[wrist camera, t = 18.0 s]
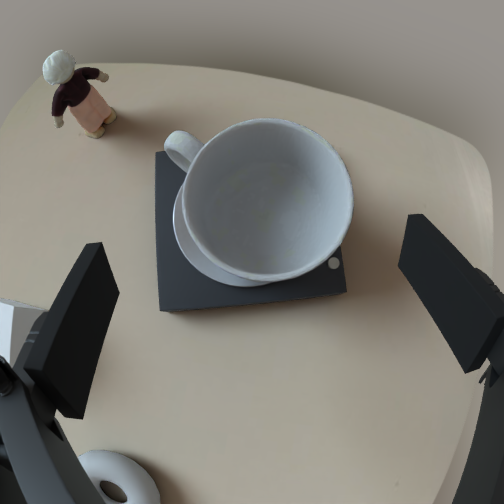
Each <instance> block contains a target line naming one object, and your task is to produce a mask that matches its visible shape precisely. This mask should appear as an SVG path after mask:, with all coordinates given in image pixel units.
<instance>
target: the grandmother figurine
mask: <svg viewBox="0 0 504 504" xmlns="http://www.w3.org/2000/svg"><path fill="white" fill-rule="evenodd" d="M75 64H76V62H75V59H74V57H73V56H72V55H70V54H69V53H67V52H66V51H63V50H60V51H56V52H54V53H52V54H51V55H50V56H48V58H47V59H46V61H45V62H44V64H43V76H44V79H45V80H46V81H47V82H49V83H50V84H52V85H54V84H60V86H59V87H58V89H57V90H56V92H55V94H54V97H53V102H52V116H53V119H54V121H55V122H54V125H55V127H56V128H61V127H62V126H63V124H64V121H63V113H64V111H65V109H66V108H67V106H68V108H69V110H70V112H71V113H72V114H73V116H74V117H75V118H76V120H77V121H78V123H79V124H80V125H81V126H82V127H83V128H84V129H85V134H86V135H87V136H89V137H92V138H99V137H101V136H102V135H103V133H104V131H105V129H104V127H102V126H101V124H102V122H104V123H106V124H110V123H112V122H113V121H114V120H115V119H116V114H115V112H114V110H113V108H112V107H110V106H108V104H107V103H106V101H105V100H104V99H103V97H102V96H101V95H100V94H99V93H98V91H97V90H96V89H95V88H94V87H93V86H92V85H90V84H89V82H88V81H87V80H89V79H96V80H100V81H101V82H106V81H107V80H108V79H109V76H108V74H106V73H103V72H102V71H100V70H99V69H97V68H90V67H83V68H79V69H77V70H75V71H74V67H75Z"/></svg>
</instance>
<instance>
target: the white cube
mask: <svg viewBox="0 0 504 504" xmlns="http://www.w3.org/2000/svg"><path fill="white" fill-rule="evenodd" d="M43 312H48V310H45V309H42V308H38V307H34V306H31V305H27V304H24V303H20V302H17V301H14V300H10V299H4V298H0V355H1V356H2V357H4V358H5V359H6V361H7V362H8V363H9V365H10V366H11V367H12V368H13V366H14V364H15V361H16V359H17V357H18V355H19V353H20V350H21V348H22V346H23V344H24V342H26V341H25V340H26V338H27V336H28V334H30V330H31V328H32V326H33V324H34V322H35V320H36V319H37V318H38V317H39V316H40V315H41V314H42V313H43Z"/></svg>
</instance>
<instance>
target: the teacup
mask: <svg viewBox="0 0 504 504" xmlns="http://www.w3.org/2000/svg"><path fill="white" fill-rule="evenodd" d="M164 149H165V152H166V153H167V154H168V156H169V157H170V158H171V159H172V160H173V161H174V162H175V163H176V164H177V165H178V166H179V167H180V168H181V169H182V170H183V171H185V172H186V173H187V175H186V178H185V181H184V185H183V193H182V210H183V216H184V220H185V223H186V226H187V229H188V231H189V233H190V236H191V238H192V239H193V241H194V242H195V244H196V245H197V246H198V248H199V249H200V250H201V252H202V253H203V254H204V255H205V256H206V257H207V258H208V259H209V260H210V261H212V262H213V263H214V264H215V265H217V266H218V267H219V268H221V269H223V270H224V271H226V272H228V273H230V274H233V275H235V276H238V277H240V278H243V279H246V280H250V281H255V282H277V281H284V280H288V279H293V278H296V277H298V276H301V275H303V274H305V273H307V272H309V271H311V270H313V269H315V268H316V267H318V266H319V265H321V264H322V263H323V262H325V261H326V260H327V259H328V258H329V257H330V256H331V255H332V254H333V253H334V252H335V251H336V249H337V248H338V247H339V246H340V244H341V243H342V241H343V239H344V237H345V235H346V234H347V231H348V229H349V226H350V223H351V220H352V216H353V210H354V195H353V188H352V182H351V180H350V176H349V173H348V170H347V168H346V166H345V164H344V162H343V161H342V159H341V157H340V156H339V154H338V153H337V152H336V151H335V149H334V148H333V147H332V146H331V145H330V144H329V143H328V142H327V141H326V140H325V139H323V138H322V137H321V136H320V135H319V134H317V133H316V132H314V131H313V130H310V129H308V128H307V127H305V126H301V125H299V124H296V123H294V122H292V121H287V120H282V119H275V118H262V119H253V120H247V121H244V122H241V123H237V124H235V125H233V126H230V127H229V128H227V129H225V130H223V131H222V132H220V133H219V134H217V135H216V136H215V137H213V138H212V139H211V140H210V141H209V142H207V143H206V144H205V145H204V144H203V143H202V142H201V141H199V140H198V139H197V138H196V137H194V136H193V135H191V134H189V133H187V132H185V131H181V130H177V131H174V132H173V133H172V134H170V135H169V137H168V138H167V140H166V141H165V144H164Z"/></svg>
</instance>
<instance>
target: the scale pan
mask: <svg viewBox="0 0 504 504" xmlns="http://www.w3.org/2000/svg"><path fill="white" fill-rule="evenodd" d="M183 185H184V183H183ZM183 185H182V186H181V188H180V190H179V192H178V194H177V198H176V201H175V205H174V211H173V226H174V232H175V236H176V239H177V242H178V244H179V247H180V249H181V250H182V252H183V254H184V256H185V257H186V258H187V259H188V261H189V262H190V263H191V264H192V265H193V266H194V267H195V268H196V269H197V270H198V271H199V272H201V273H202V274H203V275H205V276H206V277H208V278H210V279H212V280H213V281H216V282H218V283H221V284H223V285H228V286H232V287H241V288H249V287H258V286H263V285H266V284H270V283H273V282H255V281H250V280H246V279H243V278H240V277H238V276H235V275H233V274H230V273H228V272H226V271H224V270H223V269H221V268H219V267H218V266H217V265H215V264H214V263H213V262H212V261H210V260H209V259H208V258H207V257H206V256H205V255H204V254H203V253H202V252H201V250H200V249H199V248H198V246H197V245H196V244H195V242H194V241H193V239H192V238H191V236H190V233H189V231H188V229H187V226H186V223H185V220H184V216H183V210H182V193H183Z"/></svg>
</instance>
